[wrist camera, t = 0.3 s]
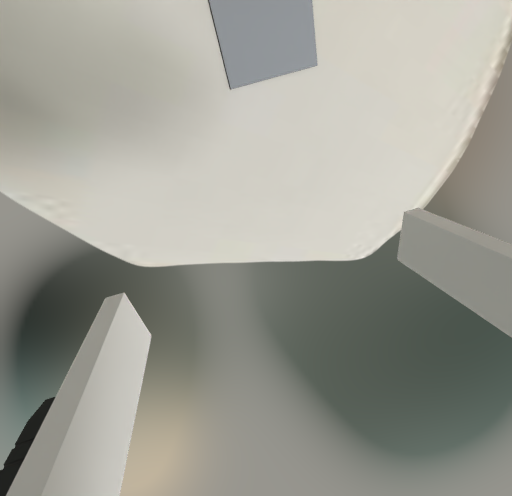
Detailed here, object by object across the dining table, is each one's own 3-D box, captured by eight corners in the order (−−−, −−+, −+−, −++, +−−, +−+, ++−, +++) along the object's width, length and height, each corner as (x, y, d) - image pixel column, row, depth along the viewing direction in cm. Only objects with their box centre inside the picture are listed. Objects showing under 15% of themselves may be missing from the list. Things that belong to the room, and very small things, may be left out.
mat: (206, -7, 26) (207, -9, 25) (308, -31, 27) (309, -33, 26) (230, 89, 30) (231, 89, 30) (316, 65, 31) (317, 65, 31)
